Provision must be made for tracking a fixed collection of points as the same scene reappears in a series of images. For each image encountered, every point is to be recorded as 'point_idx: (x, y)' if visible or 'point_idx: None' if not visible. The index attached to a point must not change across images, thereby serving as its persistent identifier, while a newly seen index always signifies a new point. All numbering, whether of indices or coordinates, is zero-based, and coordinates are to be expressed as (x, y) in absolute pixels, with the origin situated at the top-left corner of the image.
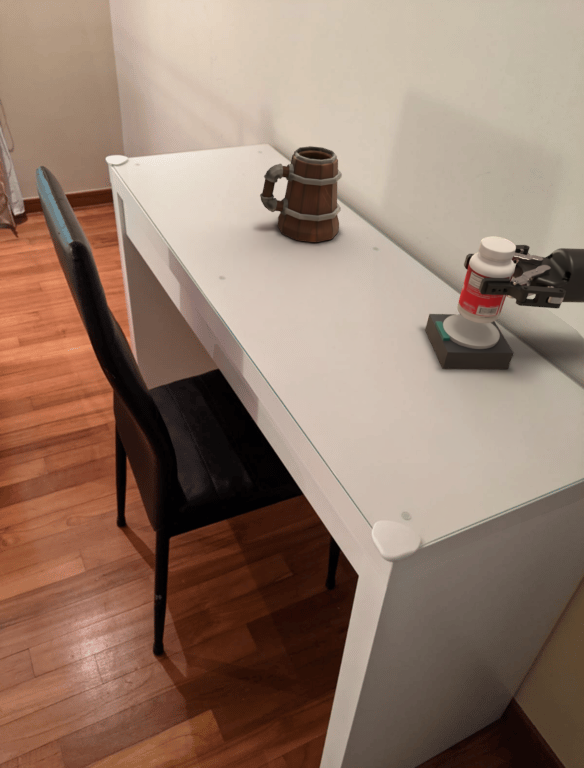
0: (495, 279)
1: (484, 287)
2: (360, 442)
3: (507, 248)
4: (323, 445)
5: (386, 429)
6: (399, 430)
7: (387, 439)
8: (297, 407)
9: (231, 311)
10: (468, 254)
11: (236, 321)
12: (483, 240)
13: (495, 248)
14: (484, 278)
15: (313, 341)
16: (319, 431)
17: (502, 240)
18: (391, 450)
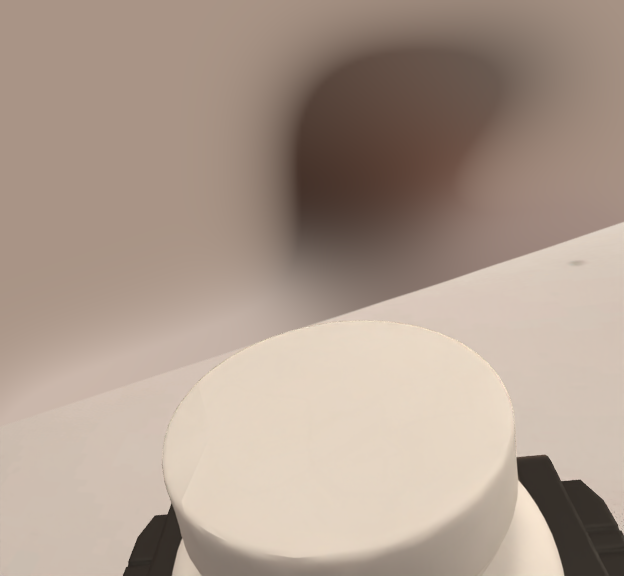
0: (168, 545)
1: None
2: (74, 445)
3: (229, 452)
4: (96, 400)
5: (82, 487)
6: (67, 511)
7: (56, 486)
8: (193, 370)
9: (462, 285)
10: (543, 456)
11: (431, 293)
12: (392, 329)
13: (247, 374)
14: None
15: None
16: (128, 395)
17: (418, 443)
18: (26, 490)
